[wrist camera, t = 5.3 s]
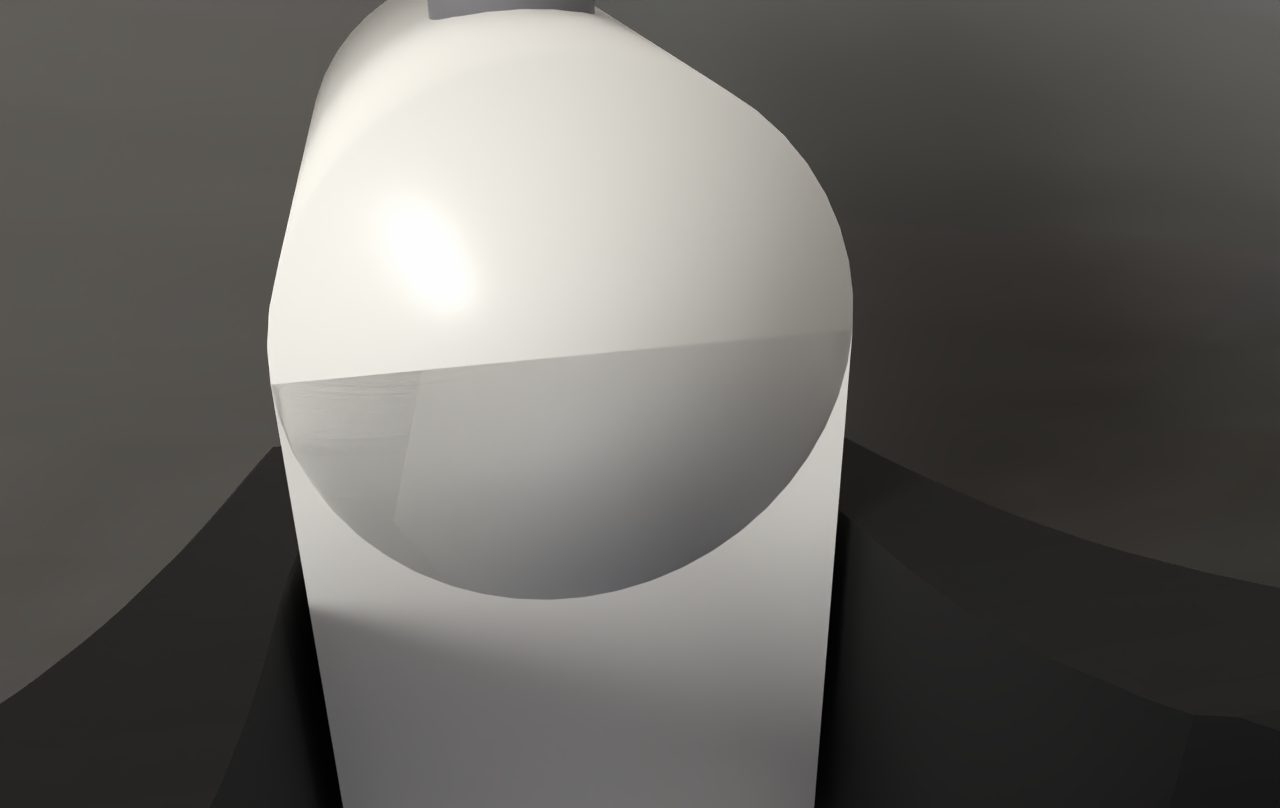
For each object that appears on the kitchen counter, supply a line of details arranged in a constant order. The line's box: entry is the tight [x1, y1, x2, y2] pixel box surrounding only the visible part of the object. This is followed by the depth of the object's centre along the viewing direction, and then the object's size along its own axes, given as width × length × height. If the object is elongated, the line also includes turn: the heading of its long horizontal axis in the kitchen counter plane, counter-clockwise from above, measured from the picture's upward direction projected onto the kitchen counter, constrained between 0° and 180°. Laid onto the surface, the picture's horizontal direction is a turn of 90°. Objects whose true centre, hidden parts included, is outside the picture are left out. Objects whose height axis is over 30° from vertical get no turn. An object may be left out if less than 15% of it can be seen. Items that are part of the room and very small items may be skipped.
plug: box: [267, 0, 853, 808], centre depth 10 cm, size 13×4×5 cm, turn 1°
